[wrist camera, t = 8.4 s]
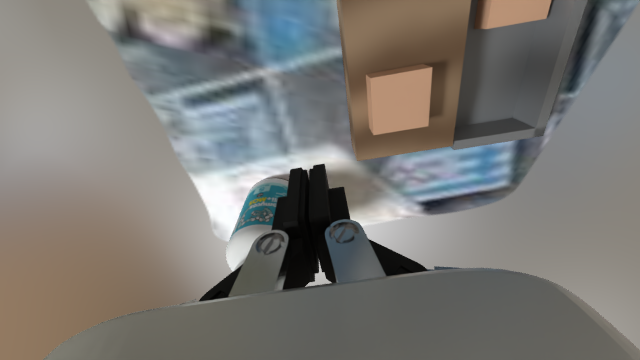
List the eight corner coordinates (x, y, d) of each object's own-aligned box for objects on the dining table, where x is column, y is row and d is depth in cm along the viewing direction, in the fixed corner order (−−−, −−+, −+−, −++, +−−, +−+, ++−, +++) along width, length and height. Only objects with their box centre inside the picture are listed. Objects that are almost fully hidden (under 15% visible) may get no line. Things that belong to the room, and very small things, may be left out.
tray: (457, -88, 20) (488, -112, 16) (577, -114, 19) (635, -144, 16) (437, 135, 30) (454, 149, 26) (516, 122, 29) (543, 135, 26)
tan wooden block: (331, -53, 21) (334, -68, 17) (454, -79, 20) (483, -100, 17) (352, 145, 30) (357, 161, 27) (436, 131, 29) (452, 145, 26)
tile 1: (365, 74, 22) (370, 78, 20) (422, 64, 22) (432, 67, 20) (369, 127, 25) (373, 135, 23) (420, 119, 24) (428, 126, 23)
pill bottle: (309, 182, 33) (308, 268, 21) (296, 224, 36) (288, 315, 25) (252, 169, 31) (218, 252, 20) (244, 213, 35) (211, 304, 24)
